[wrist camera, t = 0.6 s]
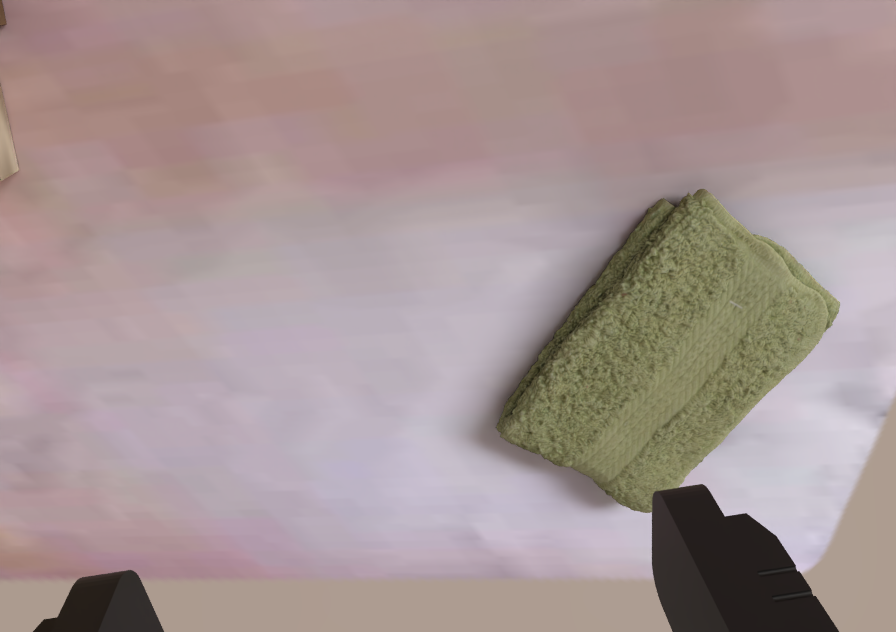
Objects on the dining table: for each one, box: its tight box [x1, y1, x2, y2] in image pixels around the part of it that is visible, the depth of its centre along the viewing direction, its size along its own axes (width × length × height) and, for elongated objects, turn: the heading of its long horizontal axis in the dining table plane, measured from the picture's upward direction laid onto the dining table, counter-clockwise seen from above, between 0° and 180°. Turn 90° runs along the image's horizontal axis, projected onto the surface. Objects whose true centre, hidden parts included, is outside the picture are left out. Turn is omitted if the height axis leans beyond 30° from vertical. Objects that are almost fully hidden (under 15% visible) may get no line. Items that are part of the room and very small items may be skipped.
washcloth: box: [496, 189, 840, 513], centre depth 41 cm, size 13×18×3 cm
